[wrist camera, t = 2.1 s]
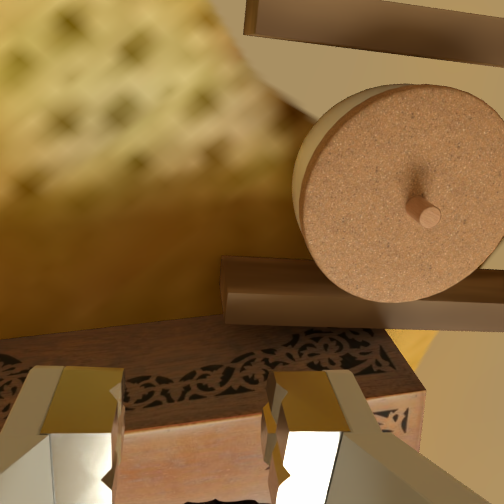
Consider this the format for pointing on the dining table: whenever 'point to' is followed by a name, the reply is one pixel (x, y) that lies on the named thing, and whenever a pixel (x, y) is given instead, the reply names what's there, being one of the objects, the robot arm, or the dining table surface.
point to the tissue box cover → (213, 396)
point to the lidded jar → (401, 190)
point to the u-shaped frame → (306, 271)
